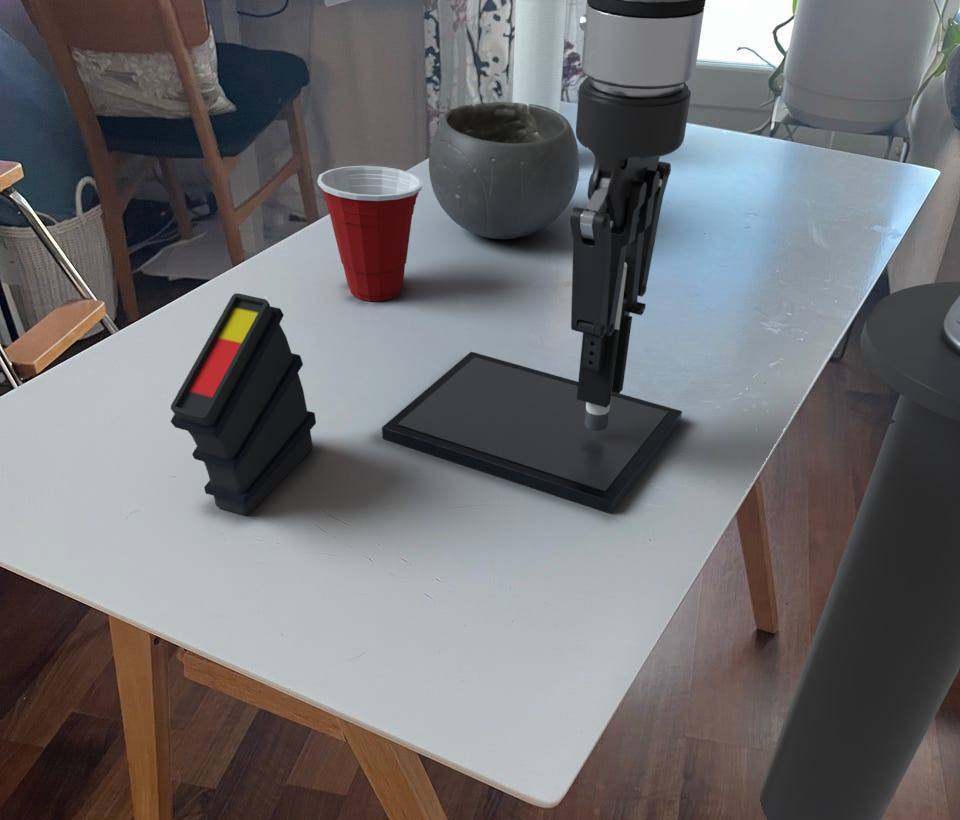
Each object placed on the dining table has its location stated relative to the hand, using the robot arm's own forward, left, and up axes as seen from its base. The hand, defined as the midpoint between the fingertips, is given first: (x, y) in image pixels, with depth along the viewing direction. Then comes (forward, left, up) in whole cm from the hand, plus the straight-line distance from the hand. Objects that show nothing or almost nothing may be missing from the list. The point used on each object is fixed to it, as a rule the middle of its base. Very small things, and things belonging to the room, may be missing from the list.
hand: (599, 393), depth 81 cm
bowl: (+30, -39, -6) cm, 50 cm away
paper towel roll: (+38, -63, -6) cm, 74 cm away
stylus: (0, 0, -3) cm, 3 cm away
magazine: (+22, +19, -6) cm, 29 cm away
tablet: (+6, 0, -5) cm, 8 cm away
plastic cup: (+34, -17, -6) cm, 38 cm away
